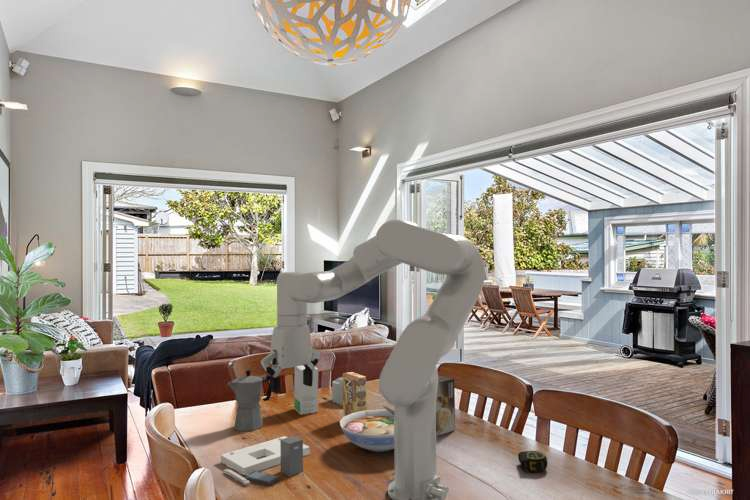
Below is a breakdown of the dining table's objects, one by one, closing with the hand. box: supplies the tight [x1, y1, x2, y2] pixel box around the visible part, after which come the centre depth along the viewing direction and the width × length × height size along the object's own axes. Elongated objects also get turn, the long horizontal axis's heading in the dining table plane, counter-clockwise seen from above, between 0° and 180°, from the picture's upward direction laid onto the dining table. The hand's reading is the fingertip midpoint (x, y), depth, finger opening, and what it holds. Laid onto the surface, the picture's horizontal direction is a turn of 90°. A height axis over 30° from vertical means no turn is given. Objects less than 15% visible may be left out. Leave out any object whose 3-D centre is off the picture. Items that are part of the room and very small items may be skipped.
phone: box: [244, 471, 280, 487], centre depth 126 cm, size 8×4×1 cm, turn 64°
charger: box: [280, 435, 304, 477], centre depth 131 cm, size 4×4×8 cm
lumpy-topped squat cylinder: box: [331, 376, 368, 405], centre depth 194 cm, size 10×13×9 cm
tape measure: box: [517, 450, 548, 473], centre depth 131 cm, size 7×7×4 cm
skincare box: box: [293, 365, 319, 416], centre depth 182 cm, size 8×7×16 cm
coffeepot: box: [227, 369, 273, 432], centre depth 166 cm, size 15×9×18 cm, turn 121°
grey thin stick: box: [223, 468, 251, 487], centre depth 127 cm, size 11×1×1 cm, turn 44°
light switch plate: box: [220, 435, 311, 476], centre depth 140 cm, size 12×20×2 cm, turn 134°
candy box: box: [342, 371, 368, 417], centre depth 170 cm, size 9×4×15 cm, turn 33°
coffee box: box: [436, 375, 456, 437], centre depth 160 cm, size 9×6×16 cm
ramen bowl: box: [339, 405, 394, 453], centre depth 147 cm, size 25×23×8 cm
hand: (292, 388), depth 132 cm, fingers open, 9 cm apart
